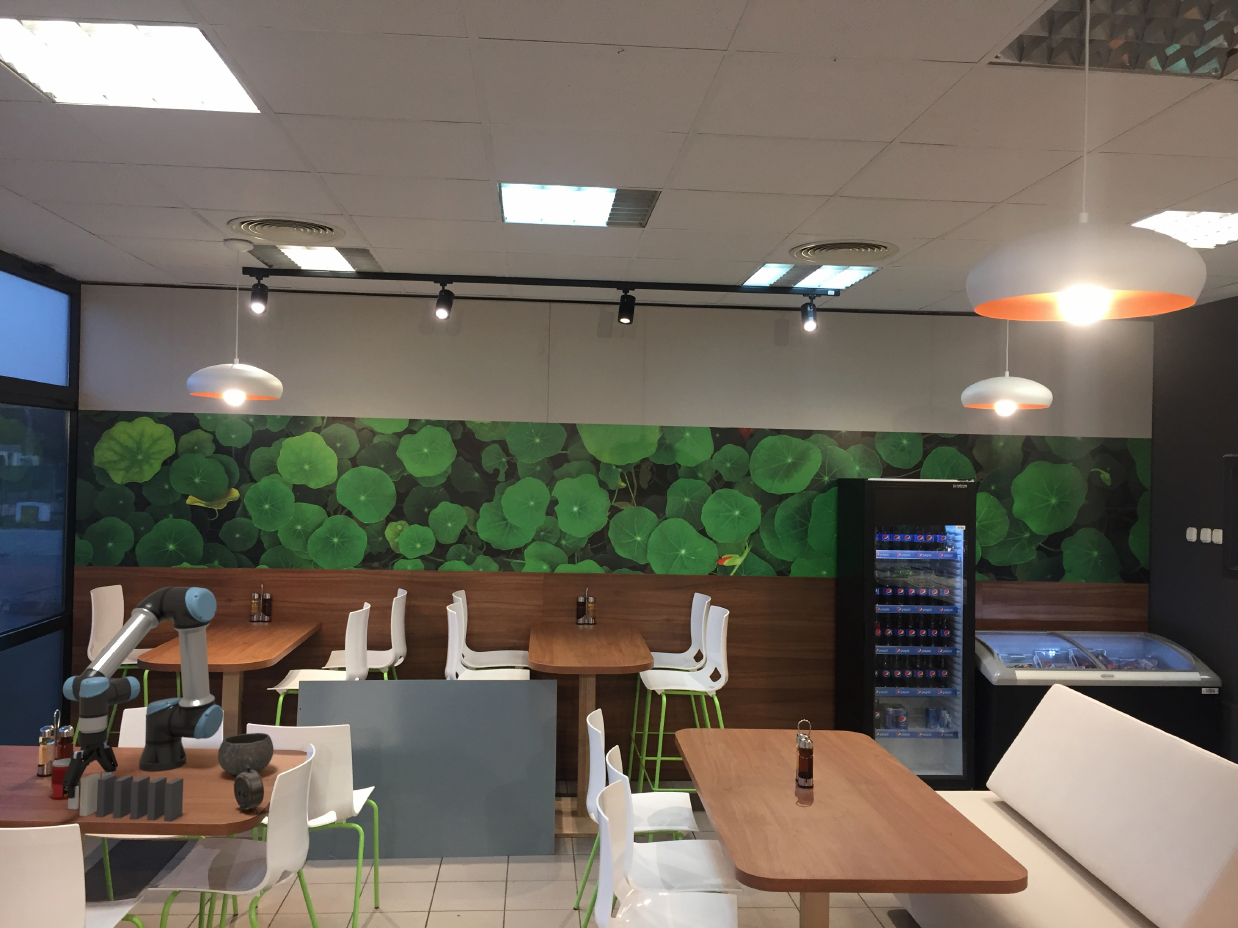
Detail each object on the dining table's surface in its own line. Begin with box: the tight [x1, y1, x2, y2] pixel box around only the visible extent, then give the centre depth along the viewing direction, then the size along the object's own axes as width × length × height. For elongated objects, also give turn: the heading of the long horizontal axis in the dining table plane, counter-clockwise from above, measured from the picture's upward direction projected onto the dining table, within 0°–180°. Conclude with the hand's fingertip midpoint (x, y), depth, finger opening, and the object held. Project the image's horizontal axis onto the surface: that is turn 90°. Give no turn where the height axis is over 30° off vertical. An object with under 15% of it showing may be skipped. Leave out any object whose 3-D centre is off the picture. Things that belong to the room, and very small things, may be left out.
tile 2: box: [96, 773, 118, 818], centre depth 263 cm, size 2×5×11 cm, turn 172°
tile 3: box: [112, 774, 134, 819], centre depth 262 cm, size 2×5×11 cm, turn 172°
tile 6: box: [163, 777, 184, 822], centre depth 260 cm, size 2×5×11 cm, turn 172°
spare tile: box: [79, 773, 101, 817], centre depth 263 cm, size 2×5×11 cm, turn 172°
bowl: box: [217, 732, 275, 777], centre depth 303 cm, size 18×18×13 cm
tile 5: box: [146, 776, 168, 821], centre depth 260 cm, size 2×5×11 cm, turn 172°
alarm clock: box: [233, 758, 265, 815], centre depth 266 cm, size 11×5×16 cm, turn 50°
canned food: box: [50, 757, 81, 801], centre depth 278 cm, size 8×8×11 cm
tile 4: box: [129, 775, 151, 820], centre depth 261 cm, size 2×5×11 cm, turn 172°
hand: (89, 800), depth 263 cm, fingers open, 13 cm apart
